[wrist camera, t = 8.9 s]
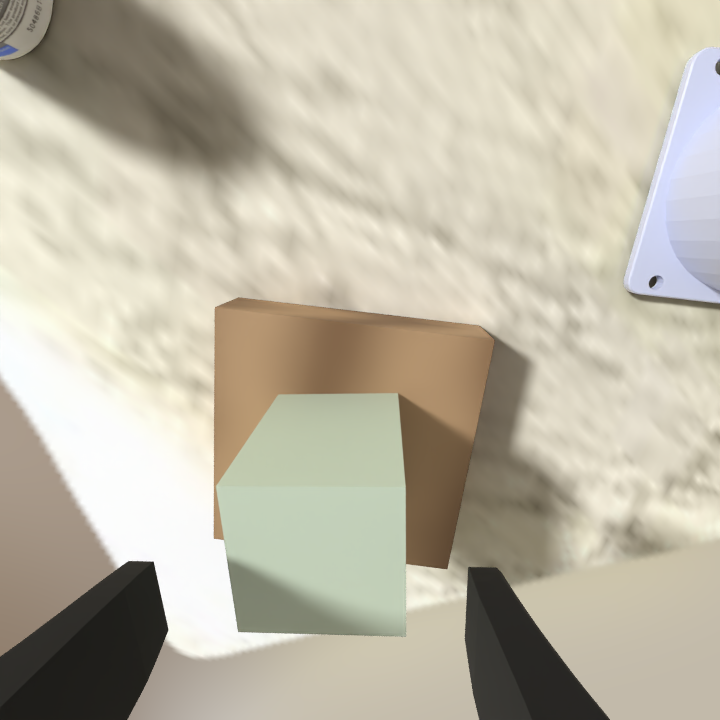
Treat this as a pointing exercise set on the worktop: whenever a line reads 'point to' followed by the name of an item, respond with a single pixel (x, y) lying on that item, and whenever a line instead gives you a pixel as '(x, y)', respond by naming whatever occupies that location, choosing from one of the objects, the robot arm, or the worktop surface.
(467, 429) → the walnut base
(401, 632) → the sage block
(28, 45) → the pill bottle
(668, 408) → the worktop surface
